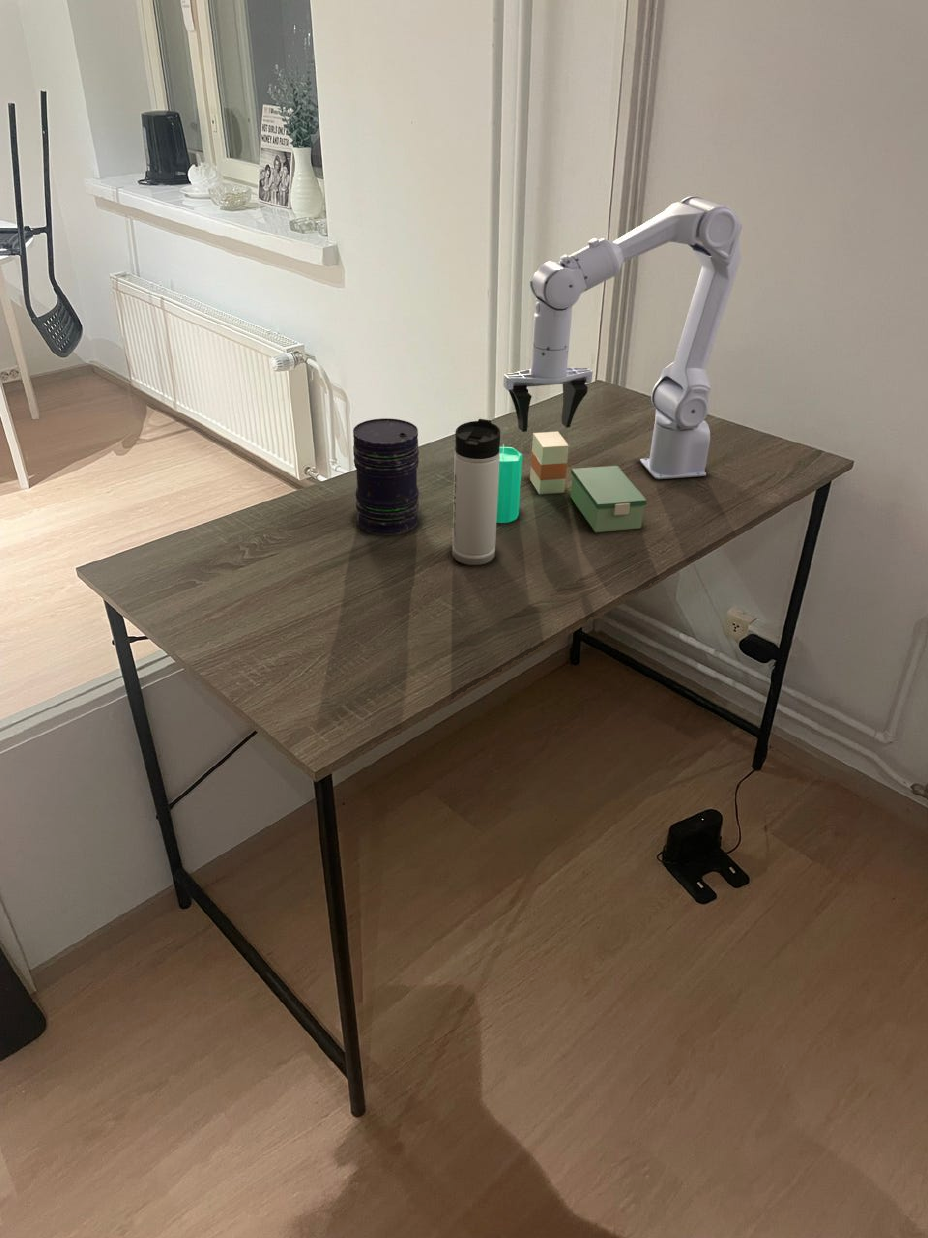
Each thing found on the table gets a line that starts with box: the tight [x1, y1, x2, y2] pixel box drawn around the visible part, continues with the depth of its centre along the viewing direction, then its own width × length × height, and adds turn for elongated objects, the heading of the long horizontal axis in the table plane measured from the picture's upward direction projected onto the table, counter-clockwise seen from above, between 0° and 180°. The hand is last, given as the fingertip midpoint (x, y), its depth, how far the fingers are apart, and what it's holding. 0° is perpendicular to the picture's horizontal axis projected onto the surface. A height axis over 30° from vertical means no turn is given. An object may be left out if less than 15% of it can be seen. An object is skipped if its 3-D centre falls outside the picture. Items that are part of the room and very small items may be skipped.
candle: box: [496, 443, 523, 524], centre depth 142 cm, size 6×6×12 cm
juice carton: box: [529, 431, 570, 495], centre depth 153 cm, size 4×6×8 cm
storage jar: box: [352, 417, 420, 536], centre depth 139 cm, size 10×10×15 cm
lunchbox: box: [570, 465, 648, 533], centre depth 146 cm, size 8×14×5 cm, turn 12°
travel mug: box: [452, 418, 501, 566], centre depth 129 cm, size 6×7×20 cm
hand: (544, 427), depth 150 cm, fingers open, 7 cm apart
